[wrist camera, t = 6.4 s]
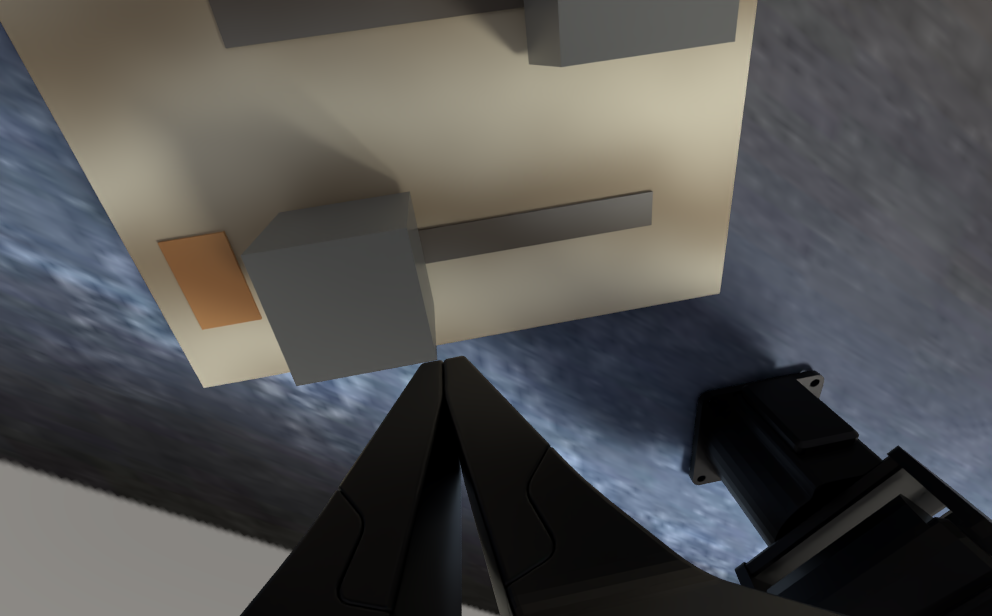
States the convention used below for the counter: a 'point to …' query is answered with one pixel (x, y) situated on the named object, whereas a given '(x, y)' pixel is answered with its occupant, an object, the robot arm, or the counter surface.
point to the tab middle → (623, 28)
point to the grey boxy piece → (345, 288)
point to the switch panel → (390, 153)
